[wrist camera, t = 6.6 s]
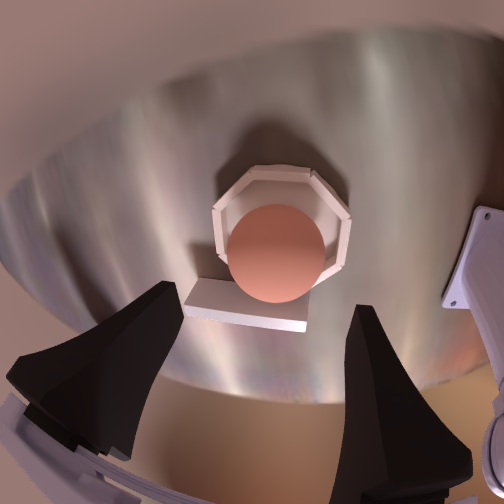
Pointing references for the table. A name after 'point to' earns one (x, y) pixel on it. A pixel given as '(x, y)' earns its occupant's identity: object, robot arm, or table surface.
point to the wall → (244, 306)
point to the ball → (276, 253)
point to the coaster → (291, 194)
